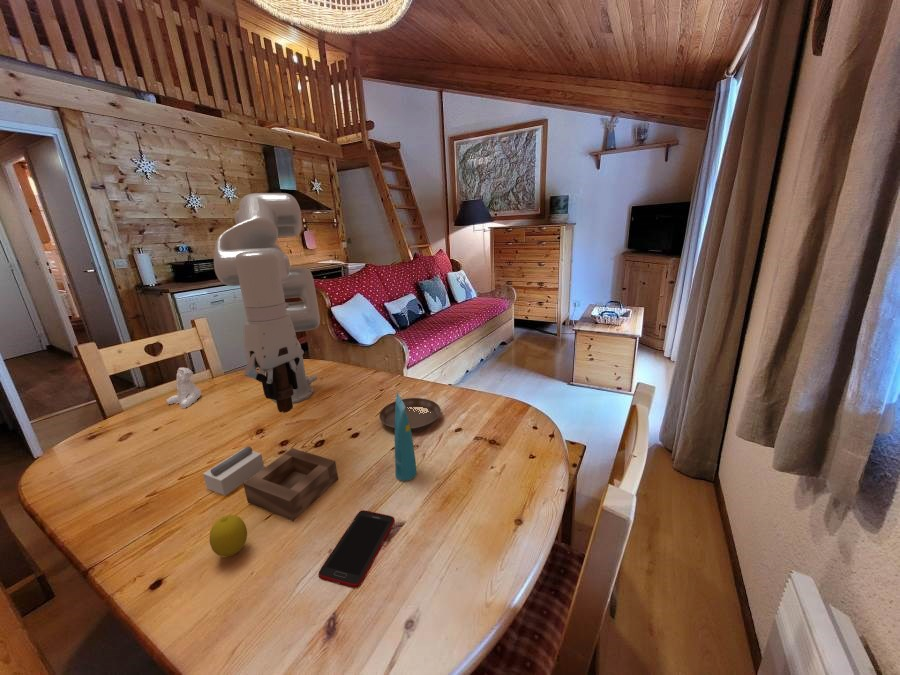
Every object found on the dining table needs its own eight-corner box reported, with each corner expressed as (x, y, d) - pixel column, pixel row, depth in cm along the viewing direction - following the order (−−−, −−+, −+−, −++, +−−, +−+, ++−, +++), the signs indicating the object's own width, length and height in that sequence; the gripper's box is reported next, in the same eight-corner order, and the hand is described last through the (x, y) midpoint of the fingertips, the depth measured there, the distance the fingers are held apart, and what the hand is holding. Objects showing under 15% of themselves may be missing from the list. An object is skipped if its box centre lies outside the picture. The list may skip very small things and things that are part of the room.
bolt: (303, 404, 84) (293, 342, 79) (292, 415, 79) (280, 350, 74) (279, 404, 84) (267, 343, 80) (267, 415, 79) (253, 350, 75)
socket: (295, 465, 88) (292, 447, 86) (338, 479, 82) (335, 461, 81) (247, 502, 76) (242, 483, 75) (293, 521, 71) (289, 501, 70)
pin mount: (247, 461, 90) (242, 442, 88) (264, 467, 87) (259, 447, 85) (207, 488, 81) (200, 467, 79) (225, 495, 79) (219, 474, 77)
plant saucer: (377, 411, 112) (376, 402, 111) (433, 402, 116) (432, 393, 116) (383, 443, 96) (382, 433, 95) (448, 431, 100) (447, 421, 99)
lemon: (225, 541, 67) (215, 507, 65) (256, 538, 68) (247, 504, 65) (209, 568, 62) (197, 532, 60) (242, 565, 62) (232, 529, 60)
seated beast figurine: (165, 404, 120) (154, 371, 116) (191, 393, 127) (182, 361, 123) (184, 409, 116) (174, 375, 112) (209, 397, 124) (201, 365, 120)
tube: (421, 480, 81) (416, 404, 75) (401, 487, 79) (394, 409, 73) (410, 461, 88) (404, 390, 82) (391, 468, 86) (384, 394, 80)
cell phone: (316, 579, 60) (315, 575, 60) (360, 512, 73) (360, 508, 73) (358, 591, 58) (357, 586, 58) (396, 520, 71) (395, 516, 71)
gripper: (286, 303, 83) (299, 376, 89) (214, 321, 69) (235, 408, 74) (311, 305, 80) (322, 380, 86) (242, 324, 66) (261, 414, 71)
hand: (282, 392), depth 80 cm, fingers closed on bolt, 4 cm apart
